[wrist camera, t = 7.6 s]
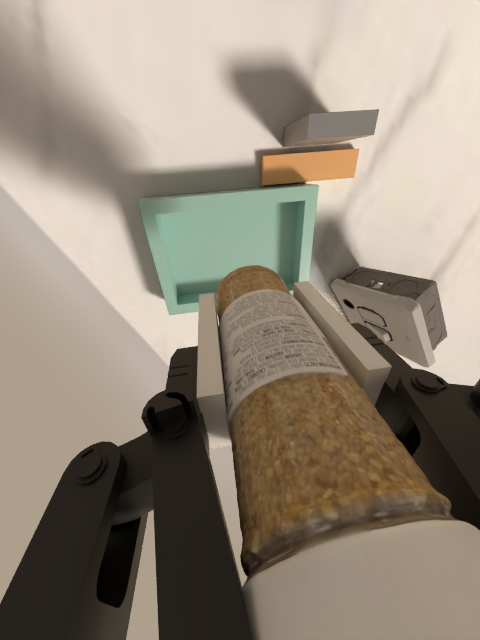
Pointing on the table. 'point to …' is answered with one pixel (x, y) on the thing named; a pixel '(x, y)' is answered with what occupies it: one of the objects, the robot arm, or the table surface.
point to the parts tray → (228, 238)
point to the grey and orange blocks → (313, 133)
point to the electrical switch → (395, 310)
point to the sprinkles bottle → (330, 490)
